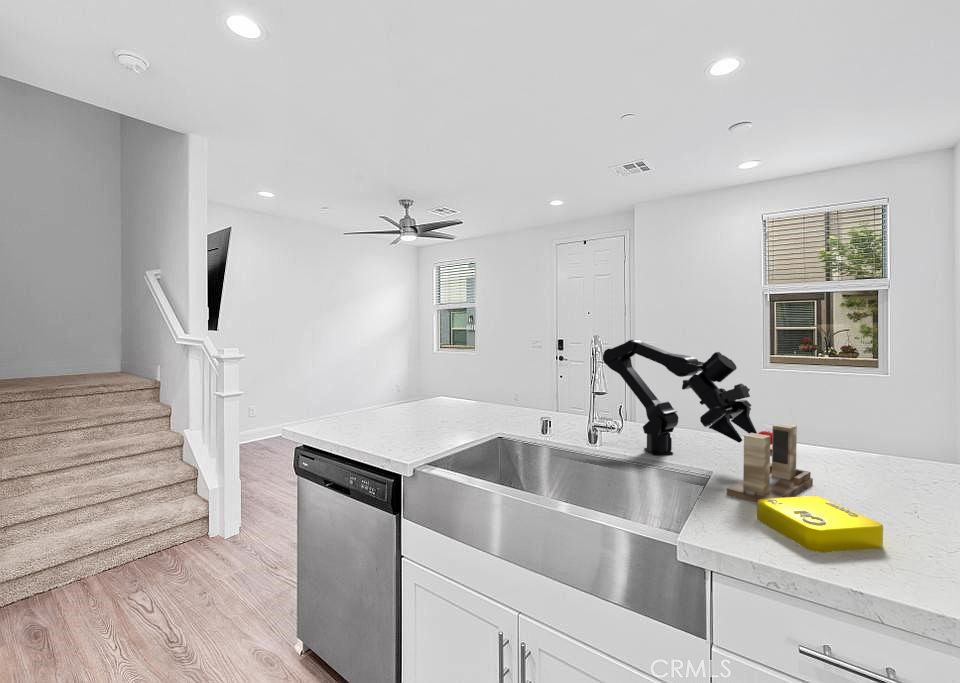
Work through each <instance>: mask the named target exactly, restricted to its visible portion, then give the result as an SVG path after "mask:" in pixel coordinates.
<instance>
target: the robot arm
mask: <svg viewBox="0 0 960 683" xmlns="http://www.w3.org/2000/svg"><path fill="white" fill-rule="evenodd" d="M635 355H638V356H641V357H644V358H645V359H648V360H650V361H652V362H654V363H658V364H660V365H662V366H664V367H665V368H666V369H667V371H669V372H670V373H672V374H673V375H675V376H677V377H680V378H682V377H683V378H684V377H690V376H691V377H690V378H689V379H683V380H682V385H681V390H688V389H691V390H692V391H693V392H694V394H695V395H696V396H697V397H698V398H699V399H700V401H699V404H700V405H703V406H704V405H705V407H706V408H707V409H708V410H707V411H706V412H705V413H703V414H702V415H701V416H700V419H699V420H700V423H701V424H702V425H703V427H705V428H708V429H709V430H713V431H715V432H718V433H719V434H721V435H723V436H725V437H726V438H729V439H731V440H733V441H735V442H737V443H741V442H743V439H742V437H741V435H740V434H739V432H738V430H737V429H736V428H735V427H734V425H736V426H738V427H739V428H741V429H742V430H743V431H745V432H746V433H747V434H749V433H756V434H758V432H757V430H756V428H755V425H754V423H753V421H752V419H751V416H750V412H751V410H752V408H751V407H752V404H751V403H750V402H749V401H748V400H746V398H751V395H750V393H749V392H750V389H751V388H748V387H747V385H745V384H743V383H738V384H736V385H734V386H733V388H732V389H728V390H726V389H725V388H719V387H718V386H717V385H716V384H715V382H717V383H721V382H722V381H723V380H724V381H725V379H726V378H728V376H730V375H731V374H733V372H735V371H736V370H737V368H738V367H737V365H736V363H735V362H734V361H733V360H732V359H731V358H728V357H727V356H725V355H724V354H722V353H721V352H720V351H716V352H714V353H713V354H711V356H710V358H708V359H707V360H706V361H704V362H703V361H699V360H698V359H697V358H696V357H694V356H691V355H685V354H679V353H672V352H669V351H666V350H664V349H661V348H659V347H657V346H654V345H651V344H648V343H646V342H643V341H641V340H639V339H628V340H627V341H626V342H624V343H622V344H619V345H617V346H614V347H612V348H607V349H605V350H604V351H603V354H602V361H603V363H604V364H605V365H606V366H607V367H608V368H609V369H611V370H612V371H614V372H616V373H617V374H618V375H619V376H620V377H621V378H622V379H623V381H624V382H625V383H626V384H627V386H628V387H629V389H630V390H631V391H632V393H633V394H634V395H635V396H636V398H637V399H638V400H639V402H640V403H641V404H642V406H643V408H645V413H646V417H647V420H648V422H646V423H644V425H643V426H642V429H643V430H642V431H643V433H644V434H645V435H646V447H644V448H643V449H644V450H645V452H648V453H650V454H652V455H653V456H665V455H674V452H673V451H672V449H673V448H672V447H673V446H672V444H673V443H672V441H673V440H672V439H673V438H672V437H671V433H673V432H674V429H675V427H677V425H678V423H679V418H680V417H679V416H678V414H677V412H678V411H677V410H676V409H675V408H674V407H673V406H672V404H671V403H670V402H669V401H663V402H662V401H661V400H660V399H658V397H657V396H656V395H655V393H654V392H653V391H652V389H650V387H649V386H648V385H647V383H646V382H645V381H644V379H643V378H642V377H641V376H640V375H639V373H638V372H637V371H636V370H635V369H634V367H633V363H632V357H634V356H635ZM732 423H733V424H734V425H733V424H732ZM644 450H643V451H644Z"/></svg>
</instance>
